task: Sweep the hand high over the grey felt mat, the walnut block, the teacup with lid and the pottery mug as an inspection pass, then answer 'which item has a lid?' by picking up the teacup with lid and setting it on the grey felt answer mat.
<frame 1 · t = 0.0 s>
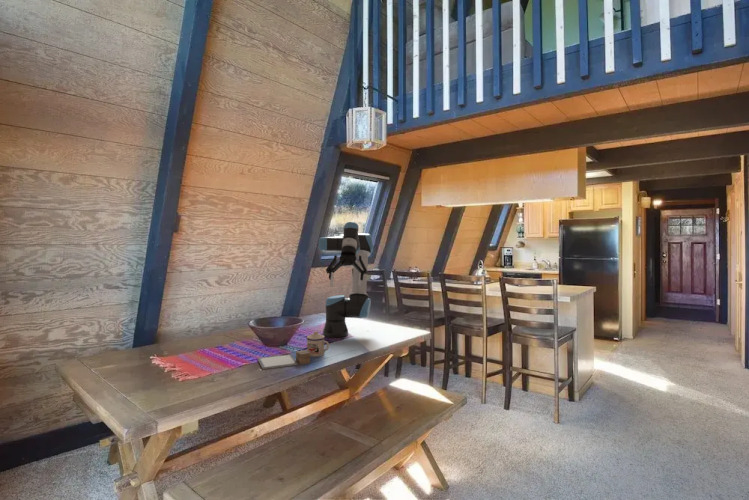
hand: (345, 285, 199), 36 cm above the table, tool tilted 35°, fingers open, 13 cm apart
teacup with lid: (318, 355, 208), on the table
answer mat: (277, 362, 196), on the table
walnut block: (303, 362, 196), on the table
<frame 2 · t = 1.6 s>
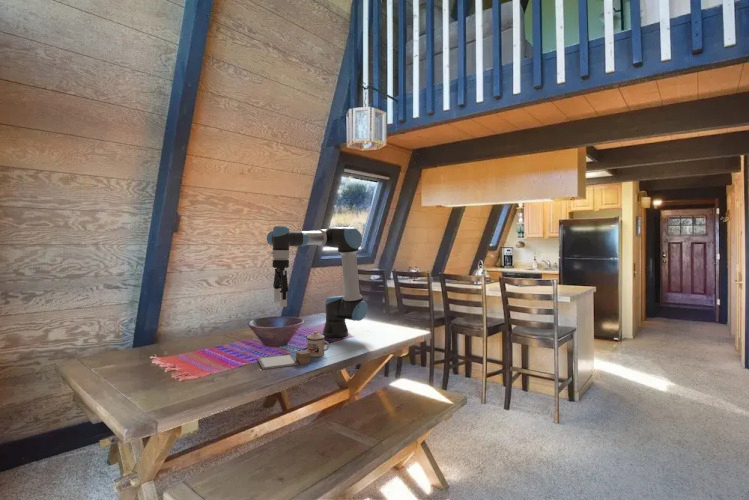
hand: (280, 304, 194), 27 cm above the table, tool pointing down, fingers open, 13 cm apart
nothing on the table moved.
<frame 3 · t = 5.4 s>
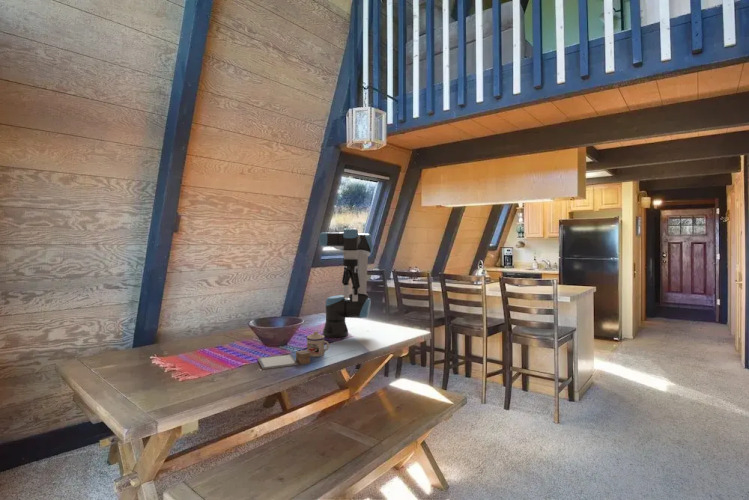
hand: (350, 299, 216), 27 cm above the table, tool pointing down, fingers open, 13 cm apart
nothing on the table moved.
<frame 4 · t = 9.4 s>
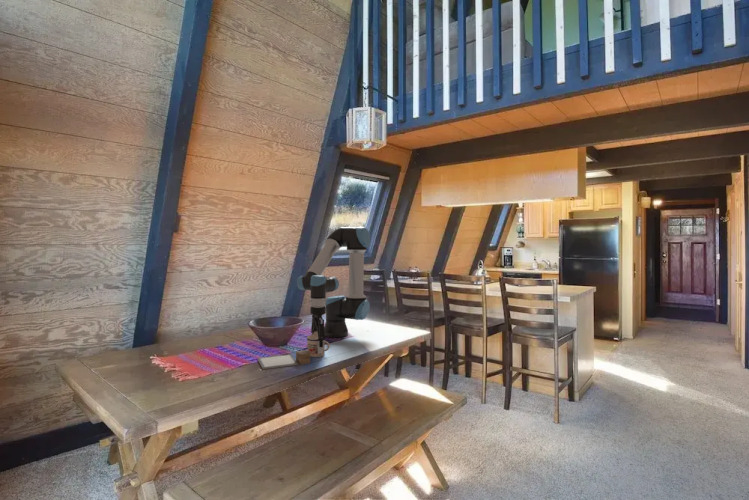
hand: (317, 350, 208), 2 cm above the table, tool pointing down, fingers open, 9 cm apart
teacup with lid: (318, 355, 207), on the table, touching gripper
everything else where it was.
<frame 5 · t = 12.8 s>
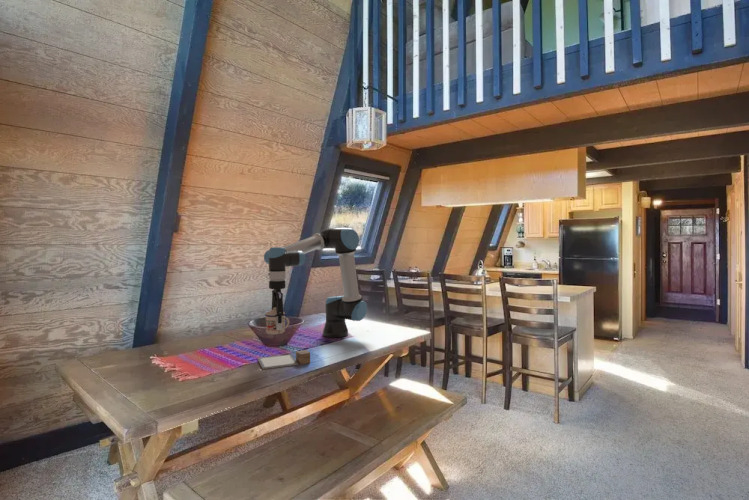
hand: (277, 327, 195), 16 cm above the table, tool pointing down, fingers closed on teacup with lid, 9 cm apart
teacup with lid: (278, 332, 194), point 14 cm above the table, touching gripper
everything else where it was.
when the fingers open (4 cm above the table, at t = 15.4 s): teacup with lid drops 1 cm, resting on answer mat.
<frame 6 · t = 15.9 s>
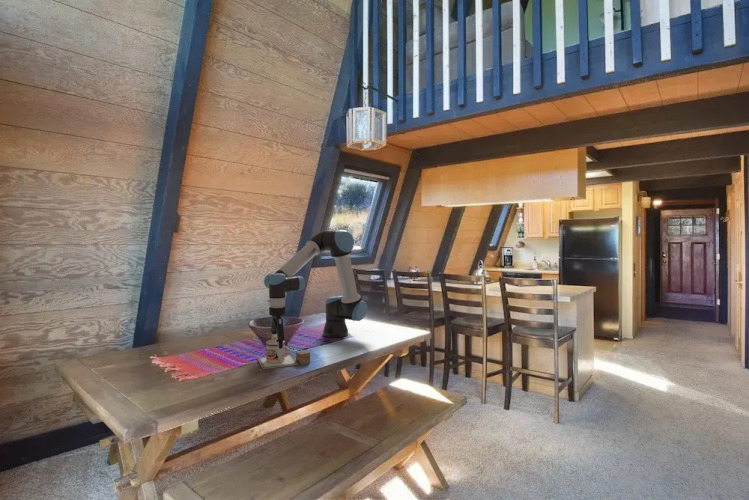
hand: (277, 351, 195), 5 cm above the table, tool pointing down, fingers open, 13 cm apart
teacup with lid: (278, 361, 195), resting on answer mat
everything else where it was.
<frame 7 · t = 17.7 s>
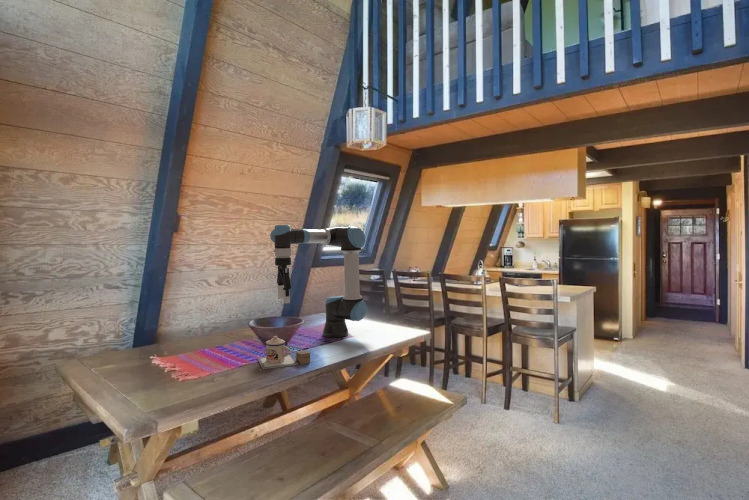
hand: (283, 300, 200), 28 cm above the table, tool pointing down, fingers open, 13 cm apart
nothing on the table moved.
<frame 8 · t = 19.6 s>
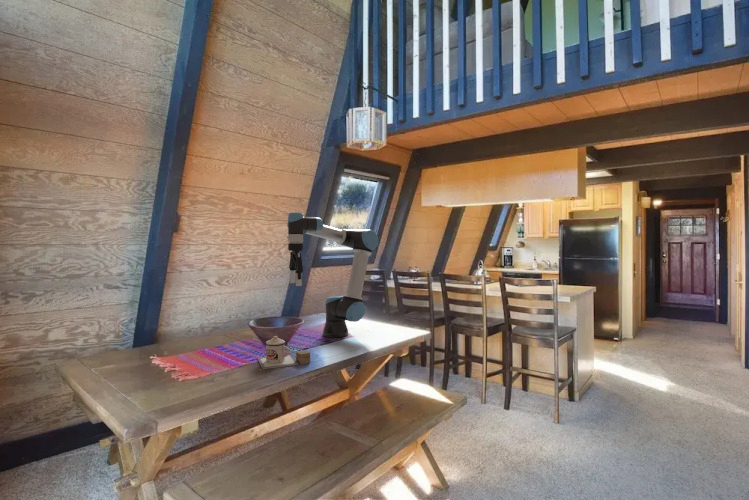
hand: (295, 284, 212), 35 cm above the table, tool pointing down, fingers open, 13 cm apart
nothing on the table moved.
at the end: teacup with lid inside the target area on the answer mat (0.6 cm from its centre), point 0.4 cm above the answer mat's base; teacup with lid tilted 0°; the gripper is holding nothing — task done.
